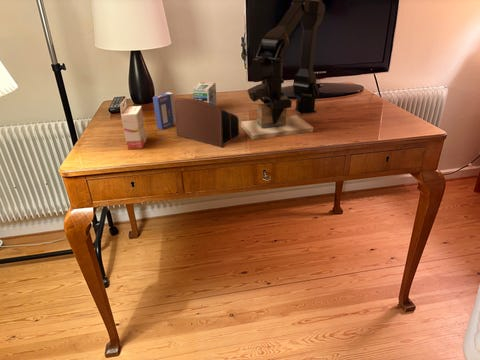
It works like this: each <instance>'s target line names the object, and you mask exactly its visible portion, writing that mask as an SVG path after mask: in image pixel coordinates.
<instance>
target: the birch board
mask: <svg viewBox="0 0 480 360" xmlns="http://www.w3.org/2000/svg"><path fill="white" fill-rule="evenodd" d="M240 126H241V128H242V129H243V130H244V131H245V132H246V133H247V135H248V136H249V137H250V138H251V140H258V139H259V140H262V139H267V138H268V139H269V138H273V137H275V138H276V137H282V136H291V135H296V134H304V133H313V132H314V127H313V126H312V125H311V124H310V123H308V122H307V121H306V120H304V119H303V118H302V117H300V116H299V115H297V114H294V115H293V114H292V115H286V125H281V126H272V127H264V128H261V127H260V126H259V125H258V124H257V119H253V120H252V119H251V120H245V121H244V120H243V121H240Z"/></svg>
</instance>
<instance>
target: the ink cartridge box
mask: <svg viewBox="0 0 480 360" xmlns="http://www.w3.org/2000/svg"><path fill="white" fill-rule="evenodd" d="M119 107H120V109H119V110H120V116H121V123H122V127H123V133H124V135H125V136H124V137H125V142H126V146H127V150H141V149H144V145H145V144H146V141H147V134H146V129H145V128H146V127H145V123H144V115H143V110H142V105H133V106H132V105H131V106H128V103H127V97H125V98H124V99H123V100H122V102H121V103H120V104H119Z"/></svg>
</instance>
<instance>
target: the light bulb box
mask: <svg viewBox="0 0 480 360" xmlns="http://www.w3.org/2000/svg"><path fill="white" fill-rule="evenodd" d="M216 89H217V87H216V82H208V81H207V82H203V81H200V82H199V83H197V84H196V85H195V86H194V87H192V94H193V98H192V99H195V100H200V101H204V102H207V103H211V104H214V105H216V106H218V104H217V90H216Z"/></svg>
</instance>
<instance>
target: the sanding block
mask: <svg viewBox="0 0 480 360" xmlns="http://www.w3.org/2000/svg"><path fill="white" fill-rule="evenodd" d="M267 105H270V103H265V104H264V103H257V109H256V110H257V111H256V112H257V114H256V115H257V116H256V117H257V118H256V120H257V124H258V125H259V126H260V127H261V128H264V127H272V126H281V125H286V116H287V110H288V108H285V109H284V110H283V112H282V114H281V115H280V117H279V119H278V121H277V123H276V124H273V119H272V111H271V109H270V108H269V107H268V106H267Z"/></svg>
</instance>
